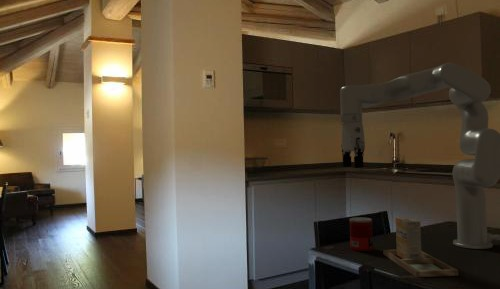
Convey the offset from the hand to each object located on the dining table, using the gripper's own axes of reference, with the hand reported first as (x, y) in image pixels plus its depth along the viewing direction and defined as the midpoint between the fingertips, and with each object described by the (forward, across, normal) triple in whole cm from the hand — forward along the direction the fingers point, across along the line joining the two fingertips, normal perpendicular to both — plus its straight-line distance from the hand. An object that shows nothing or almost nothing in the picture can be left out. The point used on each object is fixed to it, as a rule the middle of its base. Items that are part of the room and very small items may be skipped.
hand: (352, 167), depth 142 cm
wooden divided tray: (+30, -21, -11) cm, 38 cm away
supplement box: (+30, -15, -12) cm, 36 cm away
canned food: (+30, +1, -3) cm, 30 cm away
